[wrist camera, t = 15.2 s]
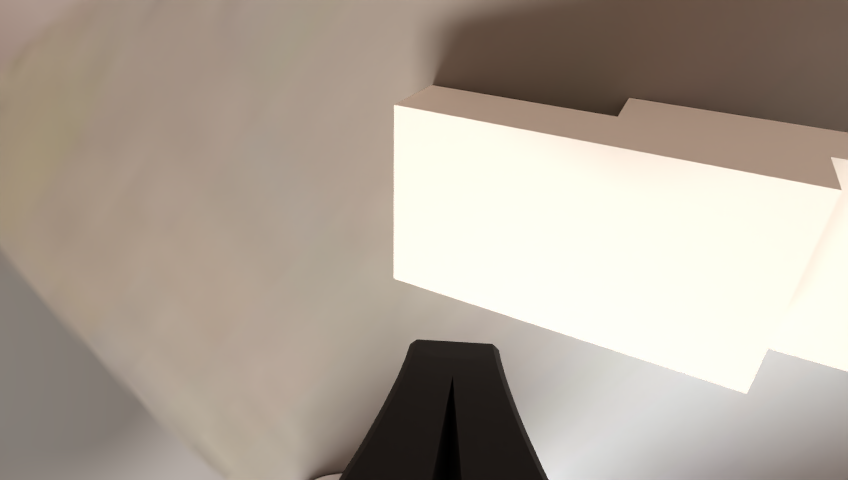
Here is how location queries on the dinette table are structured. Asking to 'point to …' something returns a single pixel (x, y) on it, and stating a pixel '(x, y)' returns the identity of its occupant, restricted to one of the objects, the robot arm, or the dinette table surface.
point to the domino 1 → (608, 226)
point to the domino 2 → (835, 251)
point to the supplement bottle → (330, 477)
